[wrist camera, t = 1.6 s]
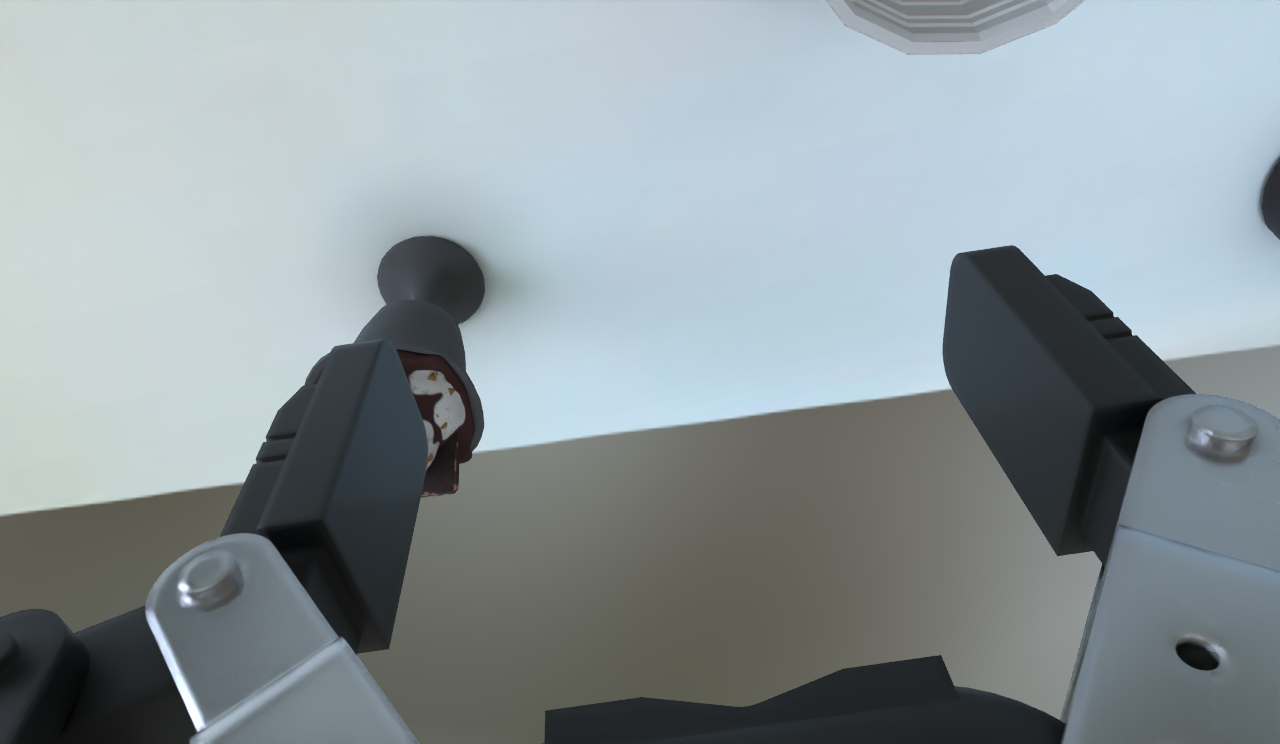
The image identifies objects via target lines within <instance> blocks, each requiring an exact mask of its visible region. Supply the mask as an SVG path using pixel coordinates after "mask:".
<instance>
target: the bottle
mask: <svg viewBox="0 0 1280 744" xmlns="http://www.w3.org/2000/svg"><path fill="white" fill-rule="evenodd" d="M1262 210H1263V214H1264V219H1265V223H1266V225H1267V226H1268V227H1269V229H1270V230H1271V231H1272V232H1273V233H1274V234H1275V235H1276V236H1277V237H1278V238H1279V239H1280V162H1279V163H1278V164H1277V166H1276V167H1275V169H1274V171H1273V173H1272V175H1271V177H1270V179H1269V181H1268V183H1267V185H1266V187H1265V192H1264V198H1263V204H1262Z"/></svg>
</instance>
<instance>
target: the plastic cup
mask: <svg viewBox="0 0 1280 744" xmlns="http://www.w3.org/2000/svg"><path fill="white" fill-rule="evenodd" d="M1083 1H1085V0H826V2H827V3H828V4H829V6H830V7H831V8H832V9H833V11H834V12H835V13H836V15H837V16H838V17H839V18H840V20H841V21H842V22H843V23H844V25H845V26H847V27H849V28H851V29H854V30H856V31H858V32H860V33H862V34H864V35H867V36H869V37H871V38H873V39H875V40H877V41H879V42H882V43H884V44H886V45H888V46H890V47H892V48H895V49H897V50H899V51H901V52H903V53H905V54H907V55H919V54H981V53H983V52H986V51H988V50H991V49H993V48H996V47H998V46H1001V45H1003V44H1006V43H1008V42H1011V41H1013V40H1016V39H1019V38H1021V37H1024V36H1026V35H1029V34H1031V33H1034V32H1036V31H1039V30H1041V29H1044V28H1046V27H1049V26H1051V25H1054V24H1056V23H1057V22H1059V21H1060V20H1061V19H1062V18H1064V17H1065V16H1066V15H1067V14H1069V13H1070V12H1071V11H1072V10H1074V9H1075V8H1076V7H1077V6H1078V5H1080V4H1081V3H1082V2H1083Z"/></svg>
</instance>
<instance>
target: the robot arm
mask: <svg viewBox="0 0 1280 744" xmlns="http://www.w3.org/2000/svg"><path fill="white" fill-rule="evenodd" d="M943 361H944V367H945V372H946V375H947V378H948V381H949V383H950V386H951V387H952V389H953V391H954V393H955V394H956V395H957V397H958V399H959V400H960V402H961V404H962V405H963V407H964V408H965V410H966V411H967V413H968V415H969V416H970V418H971V420H972V421H973V423H974V424H975V426H976V427H977V429H978V430H979V432H980V434H981V435H982V437H983V438H984V440H985V442H986V443H987V445H988V446H989V448H990V450H991V451H992V453H993V454H994V456H995V458H996V459H997V461H998V462H999V464H1000V466H1001V467H1002V469H1003V470H1004V472H1005V473H1006V475H1007V477H1008V478H1009V480H1010V481H1011V483H1012V485H1013V486H1014V488H1015V489H1016V491H1017V493H1018V494H1019V496H1020V497H1021V499H1022V500H1023V502H1024V504H1025V505H1026V507H1027V508H1028V510H1029V512H1030V513H1031V515H1032V516H1033V518H1034V519H1035V521H1036V523H1037V524H1038V526H1039V527H1040V529H1041V530H1042V532H1043V534H1044V535H1045V537H1046V539H1047V540H1048V542H1049V543H1050V545H1051V547H1052V548H1053V550H1054V551H1055V553H1056V554H1057V556H1061V555H1067V554H1075V553H1082V552H1089V551H1094V552H1095V553H1096V555H1097V557H1098V558H1099V560H1100V561H1101V562H1102V567H1101V570H1100V574H1099V577H1098V581H1097V584H1096V587H1095V591H1094V595H1093V599H1092V602H1091V606H1090V610H1089V614H1088V617H1087V621H1086V625H1085V629H1084V633H1083V636H1082V640H1081V643H1080V647H1079V651H1078V655H1077V658H1076V662H1075V666H1074V670H1073V673H1072V677H1071V681H1070V684H1069V688H1068V692H1067V695H1066V699H1065V702H1064V706H1063V710H1062V713H1061V717H1060V720H1058V719H1056V718H1054V717H1053V716H1051V715H1049V714H1047V713H1045V712H1043V711H1041V710H1038V709H1036V708H1034V707H1031V706H1029V705H1027V704H1024V703H1022V702H1019V701H1017V700H1013V699H1010V698H1007V697H1004V696H1001V695H998V694H995V693H990V692H985V691H981V690H976V689H972V688H966V687H957V686H954V685H953V682H952V680H951V678H950V675H949V673H948V671H947V668H946V666H945V663H944V661H943V659H942V656H941V655H939V656H931V657H924V658H917V659H910V660H904V661H896V662H889V663H882V664H875V665H868V666H861V667H853V668H846V669H842V670H839V671H837V672H834V673H832V674H829V675H827V676H825V677H822V678H819V679H817V680H815V681H812V682H810V683H807V684H805V685H802V686H800V687H798V688H795V689H792V690H790V691H787V692H785V693H783V694H780V695H778V696H775V697H773V698H770V699H768V700H765V701H763V702H761V703H758V704H755V705H752V706H747V707H732V706H723V705H713V704H703V703H693V702H683V701H673V700H664V699H654V698H643V697H640V698H634V699H626V700H619V701H612V702H605V703H598V704H590V705H583V706H576V707H569V708H562V709H555V710H548V711H545V743H543V744H1280V420H1279V419H1278V418H1277V417H1275V416H1273V415H1272V414H1270V413H1268V412H1266V411H1265V410H1263V409H1260V408H1258V407H1256V406H1253V405H1251V404H1248V403H1246V402H1243V401H1240V400H1235V399H1232V398H1228V397H1222V396H1217V395H1206V394H1196V393H1195V392H1194V391H1193V390H1192V389H1191V388H1190V387H1189V386H1188V385H1187V384H1186V383H1185V382H1184V381H1183V380H1182V379H1181V378H1180V377H1179V376H1177V374H1176V373H1174V372H1173V371H1172V370H1171V369H1170V368H1169V367H1168V366H1167V365H1166V364H1165V363H1164V362H1163V361H1162V360H1161V359H1160V358H1159V357H1158V356H1157V355H1156V354H1155V353H1154V352H1153V351H1152V350H1151V349H1150V348H1149V347H1148V346H1147V345H1146V344H1145V343H1144V342H1143V341H1142V340H1141V339H1140V338H1139V337H1138V336H1137V335H1135V336H1132V330H1131V329H1129V328H1128V327H1127V326H1126V325H1125V324H1124V323H1123V322H1122V321H1121V320H1120V319H1119V318H1118V317H1114V316H1113V312H1112V311H1111V310H1110V309H1109V308H1108V307H1107V306H1106V305H1105V304H1104V303H1103V302H1102V301H1101V300H1100V299H1099V298H1098V297H1097V296H1096V295H1095V294H1094V293H1093V292H1092V291H1090V290H1088V289H1086V288H1084V287H1082V286H1080V285H1078V284H1076V283H1074V282H1072V281H1070V280H1068V279H1065V278H1063V277H1061V276H1059V275H1057V274H1054V275H1047V276H1045V275H1044V274H1043V273H1042V272H1041V271H1040V270H1039V269H1038V268H1037V267H1036V266H1035V265H1034V264H1033V263H1032V262H1031V261H1030V260H1029V259H1028V258H1027V257H1026V256H1025V255H1024V254H1023V253H1022V252H1021V250H1020V249H1018V248H1017V247H1015V246H1012V245H1010V246H1004V247H997V248H990V249H984V250H977V251H971V252H964V253H959V254H957V255H956V256H955V257H954V259H953V261H952V265H951V270H950V279H949V288H948V298H947V308H946V318H945V327H944V337H943ZM266 440H267V441H266V442H263V444H262V446H261V449H260V451H259V453H258V455H257V457H256V462H257V463H256V464H253V466H252V468H251V470H250V472H249V474H248V477H247V479H246V481H245V483H244V485H243V487H242V490H241V492H240V494H239V496H238V498H237V500H236V502H235V505H234V507H233V509H232V511H231V513H230V515H229V518H228V520H227V522H226V524H225V526H224V528H223V531H222V533H221V535H220V537H219V538H216V539H213V540H211V541H208V542H206V543H203V544H201V545H199V546H198V547H196V548H194V549H192V550H191V551H189V552H187V553H186V554H185V555H183V556H181V557H180V558H179V559H178V560H176V561H175V562H174V563H173V564H172V565H170V566H169V567H168V568H167V569H166V570H165V571H164V573H163V574H162V575H161V576H160V577H159V578H158V580H157V581H156V583H155V584H154V586H153V587H152V589H151V591H150V593H149V595H148V598H147V601H146V605H145V606H142V607H140V608H138V609H135V610H133V611H130V612H127V613H125V614H122V615H120V616H117V617H115V618H112V619H109V620H107V621H104V622H102V623H99V624H96V625H94V626H91V627H89V628H86V629H84V630H81V631H79V632H76V633H73V632H72V631H71V630H70V629H69V627H68V626H67V625H66V624H65V623H64V622H63V621H62V619H61V618H60V617H59V616H58V615H57V614H55V613H53V612H51V611H48V610H44V609H30V610H22V611H18V612H14V613H11V614H8V615H5V616H2V617H0V744H419V743H418V741H417V740H416V739H415V737H414V736H413V734H412V733H411V731H410V730H409V729H408V727H407V726H406V724H405V723H404V722H403V720H402V719H401V717H400V716H399V715H398V713H397V712H396V710H395V709H394V707H393V706H392V705H391V703H390V702H389V700H388V699H387V698H386V696H385V695H384V694H383V692H382V691H381V689H380V688H379V687H378V685H377V684H376V682H375V681H374V679H373V678H372V676H371V675H370V674H369V672H368V671H367V669H366V668H365V667H364V665H363V664H362V662H361V661H360V660H359V658H358V657H357V653H364V652H371V651H378V650H385V649H389V646H390V642H391V636H392V632H393V626H394V622H395V617H396V613H397V608H398V603H399V598H400V594H401V589H402V584H403V579H404V574H405V570H406V565H407V559H408V555H409V550H410V545H411V541H412V536H413V531H414V526H415V522H416V517H417V512H418V507H419V502H420V498H421V493H422V488H423V483H424V478H425V474H426V469H427V463H428V441H427V434H426V429H425V425H424V422H423V419H422V416H421V414H420V411H419V408H418V406H417V403H416V400H415V398H414V395H413V392H412V390H411V387H410V384H409V382H408V379H407V376H406V374H405V371H404V368H403V366H402V363H401V360H400V358H399V355H398V353H397V350H396V348H395V346H394V345H393V343H392V342H391V341H390V340H389V339H379V340H373V341H366V342H360V343H353V344H346V345H340V346H335V347H334V348H333V349H332V350H331V352H330V355H329V357H328V359H327V362H326V364H325V366H324V369H323V371H322V374H321V376H320V378H319V381H318V383H317V384H312V385H306V386H302V387H301V388H300V389H299V390H298V391H297V392H296V393H295V394H294V395H293V396H292V397H291V398H290V399H289V400H288V401H287V402H286V403H285V404H284V405H283V406H282V407H281V408H280V409H279V410H278V412H277V414H276V416H275V418H274V420H273V423H272V425H271V427H270V429H269V431H268V433H267V436H266Z"/></svg>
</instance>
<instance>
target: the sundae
mask: <svg viewBox="0 0 1280 744" xmlns="http://www.w3.org/2000/svg"><path fill="white" fill-rule="evenodd" d="M377 278H378V286H379V289H380V293H381V295H382V297H383V299H384V300H385V302H386V303H387V305H386V306H384V307H383V308H381V309H380V311H379V312H378V313H377V314H376V315H375V316H374V317H373V318H372V319H371V320H370V322H369V323H368V324H367V325H366V326H365V327H364V328H363V329H362V331H361V332H360V334H359V336H358V337H357V339H356V340H355V342H354V343H360V342H366V341H373V340H379V339H389V340H390V341H391V342H392V343H393V345H394V346H395V348H396V350H397V353H398V355H399V358H400V360H401V363H402V366H403V368H404V371H405V374H406V376H407V379H408V382H409V384H410V387H411V390H412V392H413V395H414V398H415V400H416V403H417V406H418V408H419V411H420V414H421V416H422V419H423V422H424V425H425V429H426V434H427V441H428V463H427V469H426V474H425V478H424V483H423V488H422V493H421V497H429V496H440V495H444V494H454V493H455V492H456V491H457V490H458V482H459V464H460V463H465V462H467V461H469V460H470V459H471V458H472V451H473V450H474V449H475V448H476V447H477V446H478V443H479V441H480V439H481V437H482V433H483V429H484V417H483V410H482V405H481V401H480V398H479V396H478V394H477V391H476V389H475V387H474V385H473V383H472V381H471V380H470V378H469V376H468V374H467V373H466V363H465V351H464V346H463V341H462V337H461V332H460V329H459V327H458V325H457V324H460V323H462V322H464V321H466V320H467V319H468V318H469V317H471V316H472V315H473V314H474V313H475V312H476V310H477V309H478V308H479V306H480V304H481V302H482V299H483V295H484V292H485V290H484V279H483V274H482V272H481V270H480V268H479V266H478V264H477V263H476V262H475V260H474V259H473V257H472V256H471V255H470V254H468V253H467V252H466V251H465V250H464V249H462V248H461V247H459V246H458V245H456V244H455V243H452V242H449V241H447V240H444V239H440V238H436V237H415V238H411V239H408V240H405V241H402V242H400V243H398V244H397V245H395V246H393V247H392V248H391V249H390V250H389V251H388V252H387V253H386V255H385V256H384V257H383V259H382V260H381V263H380V266H379V270H378V276H377ZM329 355H330V353H329V354H327V355H325V356H324V357H322V358H321V359H320V360H319V361H318V362H317V363H316V364H315V365H314V367H313V368H312V370H311V372H310V373H309V375H308V377H307V379H306V382H305V386H306V385H312V384H317V383H318V381H319V378H320V376H321V374H322V371H323V369H324V366H325V364H326V362H327V359H328V357H329Z"/></svg>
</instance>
